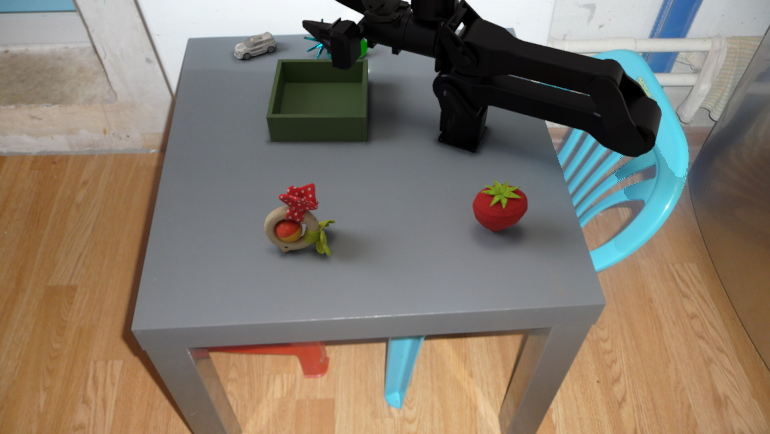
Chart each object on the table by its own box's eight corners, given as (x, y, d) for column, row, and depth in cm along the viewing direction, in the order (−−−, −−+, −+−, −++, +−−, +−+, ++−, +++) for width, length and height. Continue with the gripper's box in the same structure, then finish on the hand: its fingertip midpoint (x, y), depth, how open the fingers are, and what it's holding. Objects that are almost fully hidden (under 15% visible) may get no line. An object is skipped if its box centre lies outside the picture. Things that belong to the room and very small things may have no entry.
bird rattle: (289, 277, 80) (348, 253, 78) (243, 233, 72) (307, 206, 70) (287, 241, 84) (343, 218, 82) (243, 196, 76) (304, 169, 74)
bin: (368, 82, 105) (367, 58, 102) (366, 141, 95) (366, 117, 91) (281, 82, 105) (277, 59, 102) (270, 141, 95) (266, 117, 91)
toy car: (232, 52, 111) (229, 38, 109) (271, 41, 114) (269, 27, 112) (238, 62, 109) (235, 48, 107) (278, 50, 112) (276, 37, 110)
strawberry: (527, 243, 81) (541, 194, 74) (474, 250, 81) (483, 201, 73) (513, 211, 85) (526, 161, 78) (463, 218, 84) (470, 168, 77)
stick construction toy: (302, 59, 106) (307, 14, 105) (297, 60, 113) (302, 18, 111) (366, 70, 110) (372, 27, 108) (358, 70, 116) (363, 29, 115)
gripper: (437, -50, 85) (342, -70, 90) (384, 11, 74) (278, -14, 79) (433, 19, 94) (346, -2, 98) (384, 84, 83) (289, 57, 87)
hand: (317, 8), depth 90 cm, fingers open, 9 cm apart
